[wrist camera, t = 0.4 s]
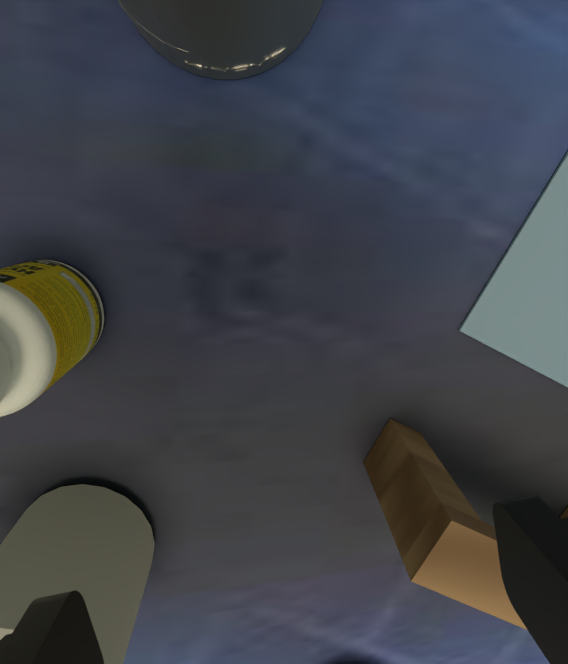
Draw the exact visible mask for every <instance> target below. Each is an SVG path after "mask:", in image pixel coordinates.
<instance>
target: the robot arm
mask: <svg viewBox="0 0 568 664" xmlns="http://www.w3.org/2000/svg"><path fill="white" fill-rule="evenodd" d="M117 1H118V2H119V4H120V5H121V6H122V8H123V9H124V11H125V12H126V13H127V15H128V16H129V18H130V19H131V20H132V22H133V23H134V25H135V26H136V28H137V29H138V30H139V32H140V33H141V34H142V36H143V37H144V38H145V39H146V40H147V41H148V42H149V43H150V44H151V46H152V47H153V48H154V49H155V50H156V51H157V52H158V53H159V54H161V55H162V56H163V57H165V58H166V59H168V60H169V61H170V62H172V63H173V64H174V65H176V66H178V67H180V68H182V69H184V70H186V71H189V72H191V73H193V74H195V75H199V76H203V77H208V78H213V79H217V80H219V79H241V78H245V77H249V76H253V75H257V74H260V73H262V72H264V71H266V70H268V69H270V68H272V67H274V66H276V65H278V64H279V63H280V62H282V61H283V60H284V59H285V58H286V57H287V56H289V55H290V54H291V53H292V52H293V51H295V50H296V48H297V47H298V46H299V45H300V43H301V42H302V41H303V39H304V38H305V37H306V35H307V34H308V33H309V32H310V30H311V27H312V25H313V23H314V21H315V19H316V17H317V15H318V13H319V11H320V9H321V6H322V3H323V0H117ZM493 517H494V525H495V532H496V539H497V547H498V554H499V562H500V569H501V575H502V580H503V583H504V587H505V590H506V592H507V595H508V597H509V600H510V602H511V604H512V606H513V608H514V610H515V611H516V613H517V614H518V616H519V617H520V619H521V620H522V622H523V623H524V625H525V626H526V628H527V630H528V631H529V633H530V634H531V636H532V637H533V639H534V640H535V642H536V643H537V645H538V646H539V648H540V649H541V651H542V652H543V654H544V655H545V657H546V658H547V660H548V661H549V663H550V664H568V518H563V519H561V518H560V517H559V516H558V515H557V514H556V513H554V512H553V511H552V510H551V509H550V508H549V507H548V506H547V505H546V504H545V503H544V502H543V501H542V500H541V499H540V498H539V497H537V496H536V495H531V496H526V497H522V498H517V499H512V500H507V501H503V502H498V503H495V504H494V506H493ZM0 664H104V659H103V655H102V652H101V649H100V646H99V643H98V640H97V637H96V634H95V631H94V628H93V625H92V622H91V619H90V616H89V613H88V610H87V607H86V604H85V601H84V598H83V596H82V595H81V593H80V592H78V591H76V590H75V591H70V592H65V593H61V594H56V595H51V596H46V597H42V598H37V599H35V600H34V601H32V602H31V604H30V605H29V607H28V608H27V610H26V612H25V613H24V615H23V616H22V618H21V620H20V621H19V623H18V624H17V626H16V628H15V629H14V631H13V632H12V633H11V634H6V635H5V636H4V637H3V638H2V639H1V640H0Z"/></svg>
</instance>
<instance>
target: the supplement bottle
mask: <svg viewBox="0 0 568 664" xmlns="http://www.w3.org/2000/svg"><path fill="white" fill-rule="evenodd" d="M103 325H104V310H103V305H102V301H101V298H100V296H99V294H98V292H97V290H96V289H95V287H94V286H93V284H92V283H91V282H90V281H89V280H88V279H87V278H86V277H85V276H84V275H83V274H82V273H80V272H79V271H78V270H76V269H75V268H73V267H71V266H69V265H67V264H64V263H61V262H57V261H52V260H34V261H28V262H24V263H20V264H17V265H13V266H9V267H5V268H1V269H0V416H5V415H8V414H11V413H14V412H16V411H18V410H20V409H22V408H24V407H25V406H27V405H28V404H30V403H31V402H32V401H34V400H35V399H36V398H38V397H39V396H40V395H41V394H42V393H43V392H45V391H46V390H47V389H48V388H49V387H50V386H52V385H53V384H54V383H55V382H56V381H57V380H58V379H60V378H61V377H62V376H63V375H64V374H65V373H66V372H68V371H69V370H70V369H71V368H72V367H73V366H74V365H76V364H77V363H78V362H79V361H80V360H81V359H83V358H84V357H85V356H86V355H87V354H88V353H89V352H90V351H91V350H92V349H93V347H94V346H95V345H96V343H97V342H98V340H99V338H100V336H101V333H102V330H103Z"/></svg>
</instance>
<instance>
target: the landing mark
mask: <svg viewBox="0 0 568 664" xmlns="http://www.w3.org/2000/svg"><path fill="white" fill-rule="evenodd" d="M458 330H459V331H461V332H463V333H465V334H467V335H469V336H470V337H472V338H474V339H476V340H478V341H480V342H482V343H484V344H486V345H488V346H490V347H492V348H493V349H495V350H497V351H499V352H501V353H503V354H505V355H507V356H509V357H511V358H513V359H514V360H516V361H518V362H520V363H522V364H524V365H526V366H528V367H530V368H532V369H534V370H536V371H537V372H539V373H541V374H543V375H545V376H547V377H549V378H551V379H553V380H555V381H557V382H559V383H560V384H562V385H564V386H566V387H568V151H567V153H566V155H565V156H564V158H563V160H562V161H561V163H560V165H559V166H558V168H557V169H556V171H555V173H554V174H553V176H552V178H551V179H550V181H549V182H548V184H547V186H546V187H545V189H544V191H543V192H542V194H541V196H540V197H539V199H538V200H537V202H536V204H535V205H534V207H533V209H532V210H531V212H530V213H529V215H528V217H527V218H526V220H525V222H524V223H523V225H522V227H521V228H520V230H519V231H518V233H517V235H516V236H515V238H514V240H513V241H512V243H511V245H510V246H509V248H508V249H507V251H506V253H505V254H504V256H503V258H502V259H501V261H500V262H499V264H498V266H497V267H496V269H495V271H494V272H493V274H492V276H491V277H490V279H489V280H488V282H487V284H486V285H485V287H484V289H483V290H482V292H481V293H480V295H479V297H478V298H477V300H476V302H475V303H474V305H473V307H472V308H471V310H470V311H469V313H468V315H467V316H466V318H465V320H464V321H463V323H462V324H461V326H460V328H459V329H458Z"/></svg>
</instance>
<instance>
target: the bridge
mask: <svg viewBox="0 0 568 664" xmlns="http://www.w3.org/2000/svg"><path fill="white" fill-rule="evenodd" d="M363 463H364V465H365V468H366V470H367V473H368V475H369V478H370V480H371V483H372V485H373V488H374V490H375V493H376V495H377V498H378V500H379V503H380V505H381V508H382V510H383V513H384V515H385V518H386V520H387V523H388V525H389V528H390V530H391V533H392V535H393V537H394V540H395V542H396V545H397V547H398V550H399V552H400V555H401V557H402V560H403V562H404V565H405V567H406V570H407V572H408V575H409V577H410V580H411V581H412V582H414V583H417V584H419V585H421V586H424V587H426V588H429V589H431V590H433V591H436V592H438V593H440V594H443V595H445V596H448V597H450V598H452V599H455V600H457V601H460V602H462V603H464V604H467V605H469V606H472V607H474V608H476V609H479V610H481V611H484V612H486V613H488V614H491V615H493V616H495V617H498V618H500V619H503V620H505V621H507V622H510V623H512V624H515V625H517V626H519V627H522V628H524V629H527V628H526V626H525V625H524V623H523V622H522V620H521V619H520V617H519V616H518V614H517V613H516V611H515V610H514V608H513V606H512V604H511V602H510V600H509V597H508V595H507V592H506V590H505V587H504V583H503V580H502V575H501V569H500V562H499V554H498V547H497V539H496V532H495V527H494V526H492V525H490V524H488V523H485V522H483V521H481V519H480V518H479V516H478V515H477V513H476V512H475V511H474V509H473V508H472V506H471V505H470V503H469V502H468V500H467V499H466V498H465V496H464V495H463V493H462V492H461V490H460V489H459V488H458V486H457V485H456V483H455V482H454V480H453V479H452V477H451V476H450V475H449V473H448V472H447V470H446V469H445V467H444V466H443V465H442V463H441V462H440V460H439V459H438V457H437V456H436V454H435V453H434V452H433V450H432V449H431V447H430V446H429V444H428V443H427V442H426V440H425V439H424V437H423V436H422V434H421V433H420V432H418V431H415V430H413V429H411V428H409V427H407V426H405V425H403V424H401V423H399V422H397V421H394V420H392V419H389V421H388V422H387V424H386V426H385V427H384V429H383V431H382V432H381V434H380V436H379V437H378V439H377V441H376V442H375V444H374V446H373V447H372V449H371V451H370V452H369V454H368V455H367V457H366V459H365V460H364V462H363ZM560 518H561V519H563V518H568V507H567V508H566V510H565V511H564V513H563V514H562V515H561V517H560Z"/></svg>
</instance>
